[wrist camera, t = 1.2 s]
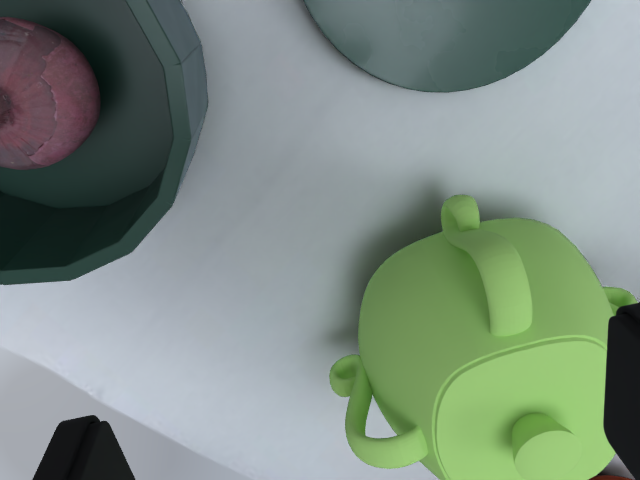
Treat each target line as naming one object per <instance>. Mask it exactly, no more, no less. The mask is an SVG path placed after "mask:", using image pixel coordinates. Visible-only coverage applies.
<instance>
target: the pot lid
mask: <svg viewBox="0 0 640 480" xmlns="http://www.w3.org/2000/svg"><path fill="white" fill-rule="evenodd" d="M303 1H304V3H305V5H306V7H307V9H308V11H309V13H310V15H311V16H312V18H313V19H314V21H315V22H316V24H317V25H318V27H319V28H320V30H321V31H322V33H323V34H324V35H325V36H326V37H327V38H328V39H329V41H330V42H331V43H332V44H333V45H334V46H335V47H336V49H337V50H338V51H340V52H341V53H342V54H343V55H344V56H345V57H347V58H348V59H349V60H350V61H351V62H352V63H353V64H355V65H356V66H358V67H360V68H361V69H363V70H364V71H366V72H367V73H369V74H370V75H372V76H374V77H377V78H379V79H381V80H383V81H385V82H387V83H390V84H393V85H396V86H400V87H403V88H406V89H411V90H417V91H424V92H455V91H463V90H469V89H473V88H477V87H481V86H485V85H488V84H491V83H493V82H496V81H498V80H501V79H503V78H506V77H508V76H510V75H511V74H513V73H515V72H517V71H519V70H521V69H523V68H524V67H526V66H527V65H529V64H530V63H532V62H533V61H534V60H536V59H537V58H539V57H540V56H542V55H543V54H544V53H545V52H546V51H547V50H549V49H550V48H551V47H552V46H553V45H554V44H555V43H556V42H558V41H559V40H560V39H561V38H562V37H563V35H564V34H565V33H566V32H567V31H568V30H569V29H570V28H571V27H572V26H573V25H574V23H575V22H576V21H577V19H578V18H579V17H580V15H581V14H582V13H583V11H584V10H585V9H586V7H587V6H588V5H589V3H590V1H591V0H303Z"/></svg>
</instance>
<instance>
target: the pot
mask: <svg viewBox="0 0 640 480" xmlns="http://www.w3.org/2000/svg"><path fill="white" fill-rule="evenodd" d="M0 17H13V18H19V19H24V20H27V21H31V22H34V23H37V24H40V25H42V26H45V27H47V28H49V29H51V30H53V31H56V32H58V33H59V34H61V35H62V36H64V37H66V38H67V39H68V40H70V41H71V42H72V43H73V44H74V45H75V46H76V47H77V48H78V49H79V50H80V51H81V52H82V53H83V54H84V56H85V57H86V59H87V61H88V62H89V64H90V66H91V67H92V69H93V72H94V74H95V77H96V79H97V82H98V86H99V91H100V100H101V106H100V113H99V118H98V121H97V123H96V125H95V127H94V129H93V131H92V133H91V134H90V136H89V137H88V138H87V139H86V140H85V141H84V143H83V144H82V145H81V146H80V147H79V148H78V149H76V150H75V151H74V152H73V153H71V154H70V155H69V156H67V157H66V158H64V159H62V160H61V161H59V162H56V163H54V164H52V165H50V166H46V167H42V168H37V169H29V170H17V169H11V168H5V167H1V166H0V285H2V284H3V285H12V284H27V283H41V282H56V281H70V280H73V279H76V278H78V277H80V276H82V275H85V274H87V273H89V272H91V271H93V270H95V269H97V268H100V267H102V266H104V265H106V264H108V263H110V262H113V261H115V260H117V259H119V258H121V257H123V256H125V255H128V254H130V253H131V252H133V250H134V249H135V248H136V247H137V246H138V245H139V244H140V242H141V241H142V240H143V239H144V238H145V237H146V236H147V234H148V233H149V232H150V231H151V230H152V229H153V228H154V226H155V225H156V224H157V223H158V222H159V221H160V220H161V218H162V217H163V216H164V215H165V214H166V213H167V211H168V210H169V209H170V208H171V207H172V205H173V203H174V201H175V199H176V196H177V194H178V192H179V189H180V187H181V184H182V182H183V179H184V177H185V175H186V172H187V170H188V167H189V165H190V163H191V160H192V158H193V155H194V152H195V149H196V145H197V142H198V138H199V135H200V132H201V129H202V125H203V121H204V118H205V114H206V111H207V107H208V95H207V83H206V70H205V65H204V59H203V52H202V45H201V44H200V43H201V41H200V39H199V37H198V36H197V34H196V32H195V29H194V27H193V25H192V23H191V20H190V18H189V16H188V14H187V12H186V10H185V9H184V7H183V5H182V4H181V2H180V0H0Z"/></svg>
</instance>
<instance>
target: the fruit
mask: <svg viewBox="0 0 640 480" xmlns="http://www.w3.org/2000/svg"><path fill="white" fill-rule="evenodd" d="M589 480H633V479H629V478H625V477H619V476H611V475H599V476H594V477H592V478H590V479H589Z"/></svg>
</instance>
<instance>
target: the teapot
mask: <svg viewBox="0 0 640 480" xmlns="http://www.w3.org/2000/svg"><path fill="white" fill-rule="evenodd" d="M441 224H442V229H443V232H440V233H437V234H434V235H431V236H429V237H426V238H424V239H421V240H419V241H416V242H414V243H412V244H410V245H408V246H406V247H404V248H402V249H400V250H399V251H397V252H396V253H395V254H393V255H392V256H390V257H389V258H388V259H386V260H385V262H384V263H383V264H382V265H381V266H380V267H379V268H378V269H377V270H376V272H375V273H374V274H373V276H372V277H371V279H370V281H369V283H368V285H367V288H366V290H365V293H364V297H363V300H362V304H361V309H360V317H359V325H358V343H359V353H360V356H359V355H348V356H346V357H343V358H342V359H340V360H338V361H337V362H336V363H335V364H334V365H333V366H332V368H331V370H330V375H329V377H330V385H331V387H332V389H333V391H334V392H335V393H336V394H337V395H339V396H341V397H349V396H350V399H349V403H348V407H347V412H346V419H345V430H346V437H347V440H348V443H349V445H350V447H351V449H352V451H353V452H354V453H355V455H356V456H357V457H358V458H359V459H360V460H362V461H363V462H365V463H366V464H368V465H371V466H374V467H378V468H387V469H392V468H400V467H405V466H408V465H411V464H413V463H415V462H417V461H420V462H421V463H422V464H423V465H424V466H425V467H426V468H428V469H429V470H430V471H431V472H432V473H433V474H434V475H435V476H436V477H438V478H439V479H440V480H589V479H590V478H592V477H594V476H596V475H597V474H598V473H600V472H601V471H602V470H603V469H604V468H605V467H606V466H607V465H608V464H609V462H610V461H611V459H612V458H613V457H614V455H615V453H616V452H615V451H614V449H613V448H612V447H611V445H610V444H609V442H608V440H607V438H606V435H605V432H604V427H603V418H604V398H605V378H606V358H607V338H608V322H609V319H610V317H612V316H616V311H617V309H618V308H619V307H621V306H625V305H630V304H635V303H637V301H636V299H635V297H634V296H633V295H632V294H631V293H630V292H628V291H627V290H624V289H621V288H615V287H602V286H601V284H600V282H599V280H598V278H597V277H596V275H595V273H594V272H593V270H592V268H591V267H590V265H589V264H588V263H587V261H586V260H585V258H584V257H583V256H582V254H581V253H580V252H579V250H578V249H577V247H576V246H575V245H574V244H573V243H572V242H570V241H569V240H568V239H567V238H566V237H565V236H564V235H563V234H562V233H561V232H560V231H559V230H557V229H555V228H553V227H551V226H550V225H548V224H545V223H541V222H538V221H535V220H531V219H523V218H507V219H495V220H489V221H483V222H480V218H479V210H478V206H477V203H476V201H475V199H474V198H473V197H471V196H468V195H454V196H452V197H450V198H449V199H447V200H446V201H445V202H444V203H443V206H442V210H441ZM372 394H373V396H374V398H375V400H376V402H377V404H378V406H379V408H380V410H381V412H382V414H383V415H384V417H385V419H386V420H387V422H388V423H389V425H390V426H391V428H392V429H393V430H394V432H395V433H396V434H397V436H394V437H390V438H381V439H379V438H370V437H367V436H365V425H366V419H367V415H368V410H369V406H370V402H371V398H372Z"/></svg>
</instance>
